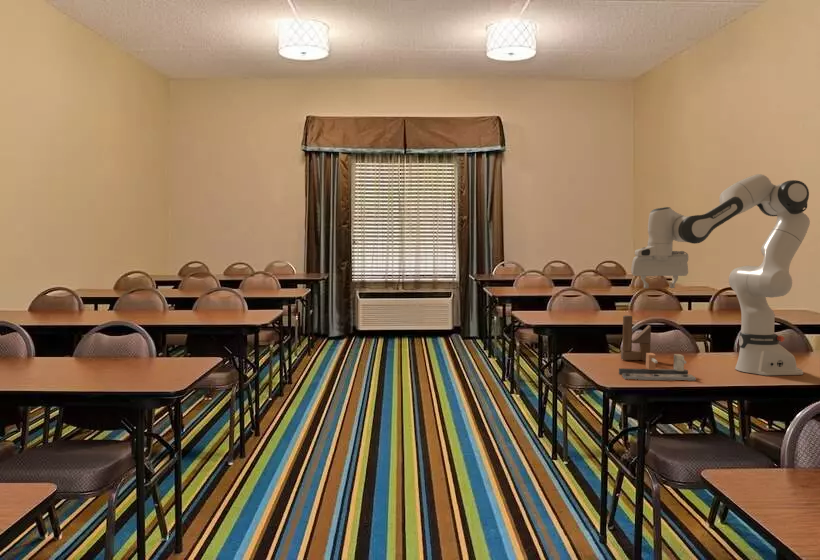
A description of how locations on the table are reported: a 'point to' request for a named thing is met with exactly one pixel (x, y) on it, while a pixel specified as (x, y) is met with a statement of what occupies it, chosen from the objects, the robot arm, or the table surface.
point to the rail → (677, 369)
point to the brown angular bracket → (635, 341)
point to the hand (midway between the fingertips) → (659, 287)
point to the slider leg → (651, 361)
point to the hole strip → (659, 376)
